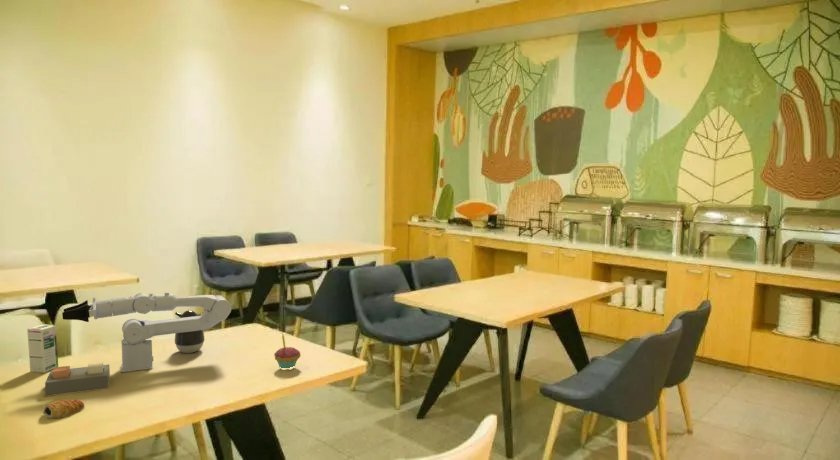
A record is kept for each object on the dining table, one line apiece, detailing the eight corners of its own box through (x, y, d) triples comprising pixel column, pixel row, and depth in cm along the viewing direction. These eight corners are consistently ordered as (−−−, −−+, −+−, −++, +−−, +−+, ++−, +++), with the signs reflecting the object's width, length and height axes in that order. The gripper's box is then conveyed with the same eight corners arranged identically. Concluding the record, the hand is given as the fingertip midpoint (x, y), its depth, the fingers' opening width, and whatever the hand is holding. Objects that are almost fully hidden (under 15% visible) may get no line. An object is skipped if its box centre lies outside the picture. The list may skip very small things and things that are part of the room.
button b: (70, 376, 180) (69, 365, 180) (68, 381, 176) (68, 369, 176) (55, 378, 178) (54, 367, 178) (53, 383, 175) (52, 371, 174)
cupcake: (269, 370, 196) (269, 335, 195) (284, 362, 204) (284, 329, 203) (291, 374, 193) (290, 338, 192) (305, 366, 201) (305, 332, 199)
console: (109, 376, 188) (109, 364, 187) (107, 388, 178) (107, 375, 178) (51, 383, 181) (50, 370, 181) (45, 396, 171) (45, 382, 171)
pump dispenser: (183, 346, 221) (182, 306, 219) (209, 347, 219) (209, 307, 218) (168, 354, 211) (167, 313, 209) (195, 356, 209) (194, 314, 208)
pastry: (77, 404, 166) (76, 391, 166) (89, 410, 162) (88, 397, 162) (40, 415, 158) (40, 402, 158) (52, 422, 155) (52, 408, 154)
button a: (103, 373, 184) (103, 362, 184) (102, 377, 180) (102, 366, 180) (88, 374, 182) (88, 363, 182) (87, 378, 179) (87, 367, 178)
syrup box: (44, 373, 190) (42, 329, 189) (29, 371, 191) (26, 328, 190) (58, 367, 196) (56, 324, 194) (43, 365, 197) (41, 323, 195)
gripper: (110, 292, 198) (63, 298, 191) (110, 298, 185) (60, 304, 179) (112, 313, 198) (65, 320, 192) (113, 320, 185) (63, 327, 179)
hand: (63, 314), depth 185 cm, fingers open, 7 cm apart
